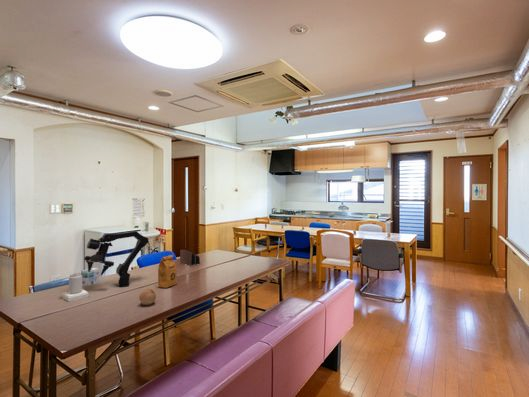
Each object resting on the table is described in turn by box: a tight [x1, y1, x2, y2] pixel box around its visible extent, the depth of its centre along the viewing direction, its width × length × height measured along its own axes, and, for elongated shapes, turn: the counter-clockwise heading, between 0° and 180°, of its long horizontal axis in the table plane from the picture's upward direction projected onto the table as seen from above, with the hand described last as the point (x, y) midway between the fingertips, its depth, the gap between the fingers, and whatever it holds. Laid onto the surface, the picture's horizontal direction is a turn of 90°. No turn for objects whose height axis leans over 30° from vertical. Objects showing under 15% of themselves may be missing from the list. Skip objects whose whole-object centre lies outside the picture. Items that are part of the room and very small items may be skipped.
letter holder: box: [179, 249, 201, 267], centre depth 287 cm, size 10×20×14 cm, turn 45°
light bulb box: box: [80, 267, 100, 287], centre depth 224 cm, size 11×7×11 cm, turn 169°
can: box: [68, 272, 83, 294], centre depth 194 cm, size 8×8×12 cm
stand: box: [61, 288, 90, 302], centre depth 194 cm, size 12×12×3 cm
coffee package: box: [157, 254, 178, 289], centre depth 217 cm, size 10×12×22 cm
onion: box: [138, 288, 157, 306], centre depth 181 cm, size 10×9×10 cm
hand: (95, 273), depth 206 cm, fingers open, 9 cm apart
